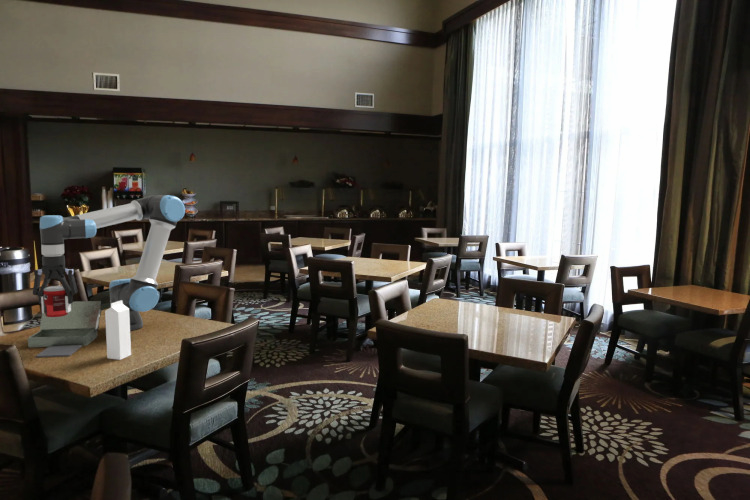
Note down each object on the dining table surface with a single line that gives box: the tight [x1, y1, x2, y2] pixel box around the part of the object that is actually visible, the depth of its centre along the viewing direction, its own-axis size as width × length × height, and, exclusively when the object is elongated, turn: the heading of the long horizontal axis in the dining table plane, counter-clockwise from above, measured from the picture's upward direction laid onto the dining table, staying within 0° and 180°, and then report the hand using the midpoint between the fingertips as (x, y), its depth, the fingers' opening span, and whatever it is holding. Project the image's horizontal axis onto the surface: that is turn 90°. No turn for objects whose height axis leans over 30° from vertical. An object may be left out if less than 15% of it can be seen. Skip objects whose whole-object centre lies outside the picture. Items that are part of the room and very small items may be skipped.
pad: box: [35, 345, 83, 358], centre depth 201 cm, size 12×12×1 cm
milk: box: [104, 300, 132, 361], centre depth 195 cm, size 6×6×22 cm
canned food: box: [44, 285, 68, 317], centre depth 198 cm, size 8×8×11 cm
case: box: [27, 300, 102, 349], centre depth 215 cm, size 24×17×15 cm
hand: (56, 311), depth 199 cm, fingers closed on canned food, 8 cm apart
